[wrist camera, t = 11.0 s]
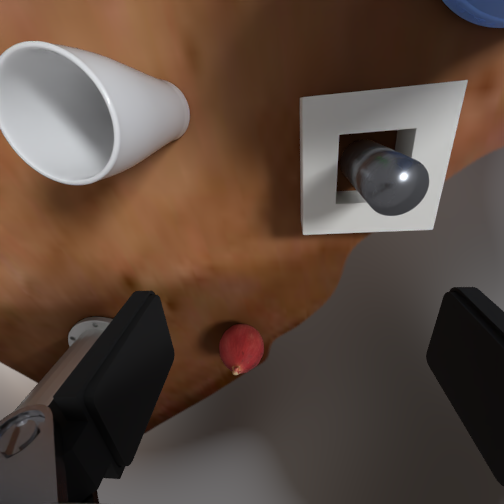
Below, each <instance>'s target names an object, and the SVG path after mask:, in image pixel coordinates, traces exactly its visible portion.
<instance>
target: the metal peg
mask: <svg viewBox="0 0 504 504" xmlns="http://www.w3.org/2000/svg"><path fill="white" fill-rule="evenodd" d="M340 168H341V171H342V173H343V174H344V175H345V177H346V178H347V179H348V180H349V181H350V183H351V184H352V185H353V186H354V187H355V189H356V190H357V191H358V192H359V193H360V195H361V196H362V197H363V198H364V200H365V201H366V202H367V203H368V204H369V206H370V207H371V208H372V209H373V210H374V211H376V212H377V213H379V214H382V215H385V216H397V215H401V214H404V213H407V212H409V211H410V210H412V209H413V208H415V207H416V206H417V205H418V204H419V203H420V202H421V201H422V200H423V198H424V197H425V195H426V193H427V191H428V187H429V174H428V171H427V169H426V168H425V166H424V165H423V164H422V163H421V162H419V161H417V160H415V159H413V158H411V157H408V156H406V155H404V154H401V153H399V152H397V151H395V150H392V149H390V148H388V147H385V146H383V145H381V144H379V143H376V142H374V141H372V140H369V139H360V140H357V141H354V142H352V143H351V144H349V145H348V146H347V147H346V148H345V150H344V151H343V153H342V155H341V158H340Z"/></svg>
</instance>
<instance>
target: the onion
mask: <svg viewBox="0 0 504 504" xmlns="http://www.w3.org/2000/svg"><path fill="white" fill-rule="evenodd" d="M219 351H220V357H221V359H222V361H223V363H224V364H225V366H226V367H227V368H229V369H230V370H231V371H233V375H238V374H241V373H246V372H248V371H250V370H251V369H253V368H254V367H256V366H257V365H258V363H259V361H260V359H261V357H262V355H263V352H264V346H263V340H262V337H261V336H260V334H259V332H258V331H257V330H256V329H255V328H254V327H252V326H249V325H247V324H237V325H233V326H231V327H230V328H229V329H228V330H226V331H225V332H224V334H223V336H222V338H221V340H220V343H219Z"/></svg>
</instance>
